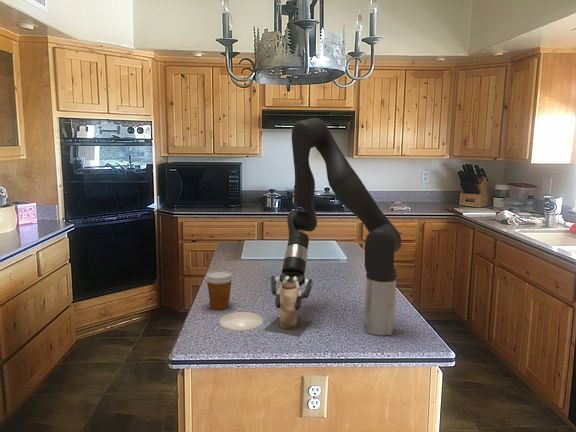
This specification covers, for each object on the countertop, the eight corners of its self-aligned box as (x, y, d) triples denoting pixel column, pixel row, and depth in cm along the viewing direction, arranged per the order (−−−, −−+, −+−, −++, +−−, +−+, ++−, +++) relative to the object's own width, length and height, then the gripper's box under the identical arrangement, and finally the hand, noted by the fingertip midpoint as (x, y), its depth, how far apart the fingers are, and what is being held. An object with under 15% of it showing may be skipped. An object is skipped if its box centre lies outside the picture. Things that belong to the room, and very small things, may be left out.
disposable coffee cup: (203, 303, 169) (203, 271, 167) (229, 300, 173) (229, 269, 171) (209, 313, 160) (208, 279, 158) (236, 309, 164) (236, 276, 162)
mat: (311, 323, 153) (311, 322, 153) (299, 338, 142) (299, 336, 142) (278, 318, 157) (278, 316, 157) (263, 331, 146) (263, 330, 146)
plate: (270, 319, 156) (270, 315, 156) (251, 335, 143) (251, 331, 143) (232, 312, 161) (232, 309, 161) (211, 327, 148) (211, 324, 148)
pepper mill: (299, 324, 151) (299, 282, 149) (292, 330, 146) (293, 287, 144) (283, 321, 153) (284, 280, 151) (277, 327, 148) (277, 285, 146)
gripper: (272, 254, 154) (262, 301, 145) (315, 257, 152) (308, 305, 142) (275, 265, 160) (267, 311, 151) (317, 268, 158) (311, 315, 148)
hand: (287, 308), depth 147 cm, fingers closed on pepper mill, 5 cm apart
